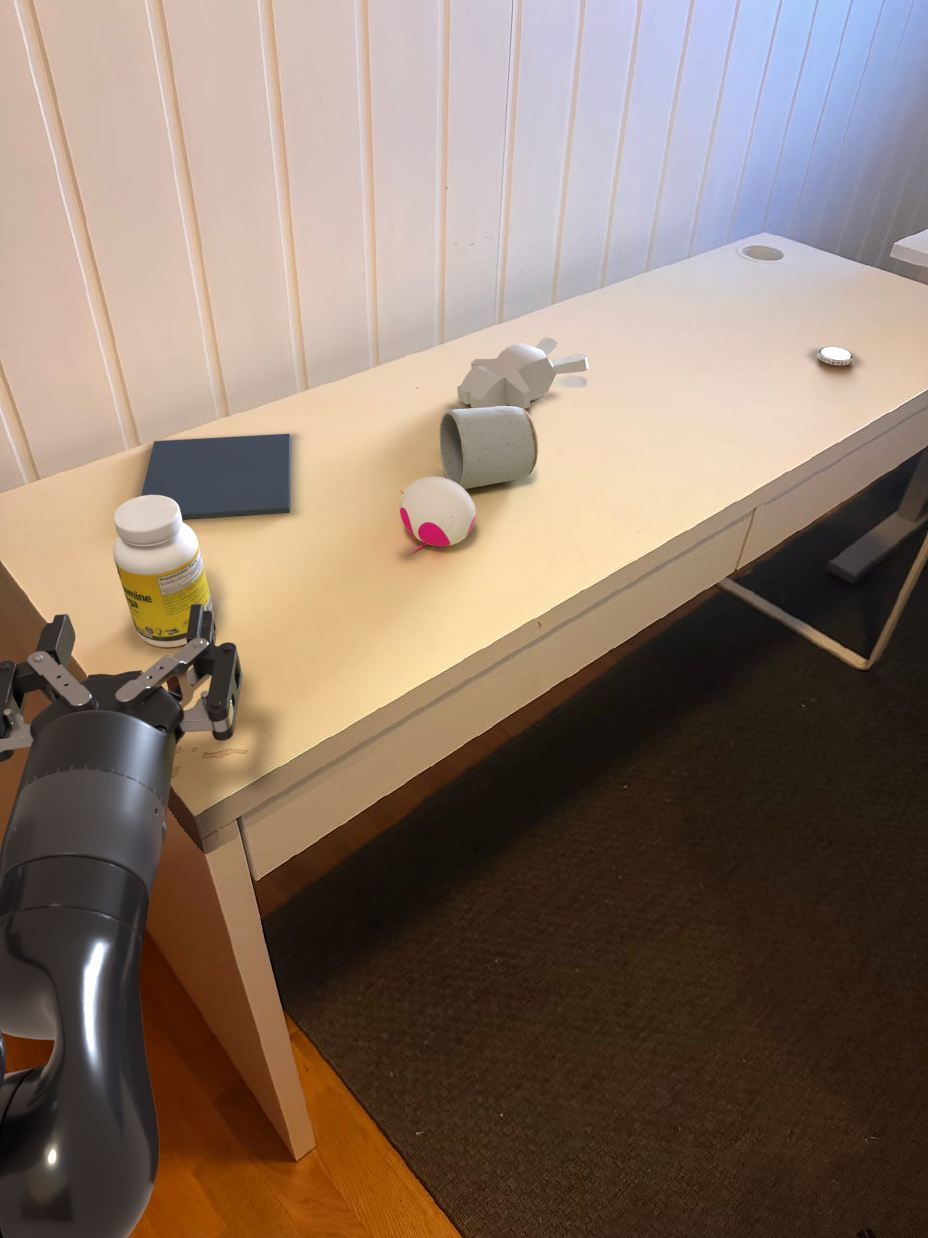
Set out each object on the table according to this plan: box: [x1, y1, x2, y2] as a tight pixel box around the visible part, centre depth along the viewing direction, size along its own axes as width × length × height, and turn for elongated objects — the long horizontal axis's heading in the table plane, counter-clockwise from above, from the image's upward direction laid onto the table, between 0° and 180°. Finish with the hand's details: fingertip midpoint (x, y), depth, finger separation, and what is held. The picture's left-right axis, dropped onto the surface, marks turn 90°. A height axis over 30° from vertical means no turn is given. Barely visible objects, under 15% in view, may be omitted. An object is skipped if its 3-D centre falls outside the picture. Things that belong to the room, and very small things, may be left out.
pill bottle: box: [112, 495, 214, 648], centre depth 69 cm, size 6×6×11 cm
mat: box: [140, 433, 292, 520], centre depth 89 cm, size 14×14×1 cm
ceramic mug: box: [438, 405, 539, 490], centre depth 88 cm, size 11×8×8 cm
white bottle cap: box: [817, 346, 854, 366], centre depth 111 cm, size 4×4×1 cm
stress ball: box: [399, 475, 477, 555], centre depth 80 cm, size 8×8×7 cm
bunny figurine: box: [456, 337, 590, 410], centre depth 102 cm, size 10×5×15 cm
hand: (133, 618), depth 59 cm, fingers open, 8 cm apart
